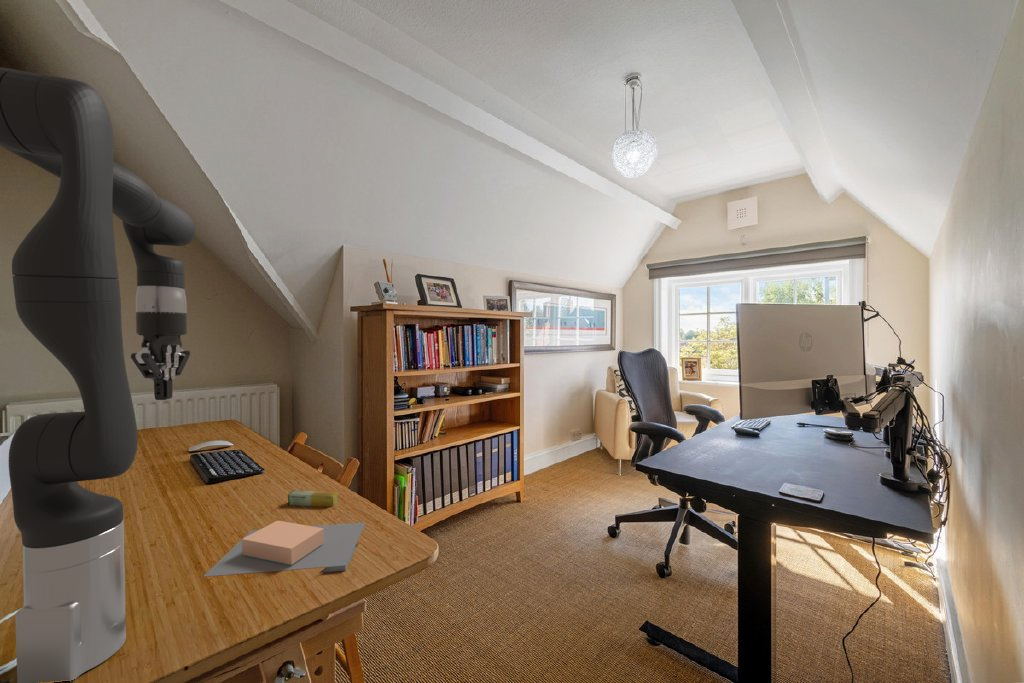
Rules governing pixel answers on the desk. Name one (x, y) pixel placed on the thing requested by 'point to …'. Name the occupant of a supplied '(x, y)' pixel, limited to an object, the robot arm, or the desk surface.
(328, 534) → the slate mat
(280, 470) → the desk surface
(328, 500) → the medication box
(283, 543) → the salmon pink box
